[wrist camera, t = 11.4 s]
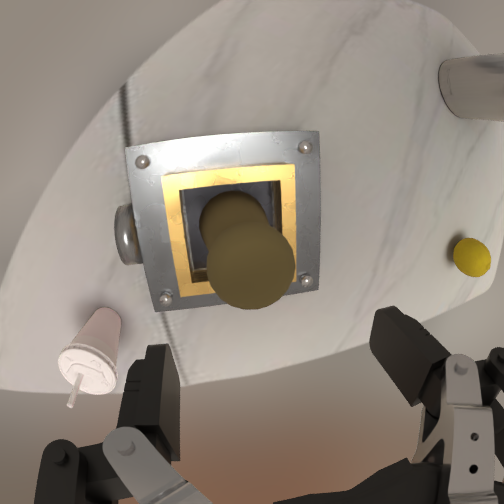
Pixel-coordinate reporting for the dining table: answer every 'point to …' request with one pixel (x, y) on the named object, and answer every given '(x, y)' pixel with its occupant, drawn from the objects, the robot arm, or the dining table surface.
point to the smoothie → (93, 355)
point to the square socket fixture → (205, 188)
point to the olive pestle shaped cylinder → (245, 252)
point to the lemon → (472, 257)
